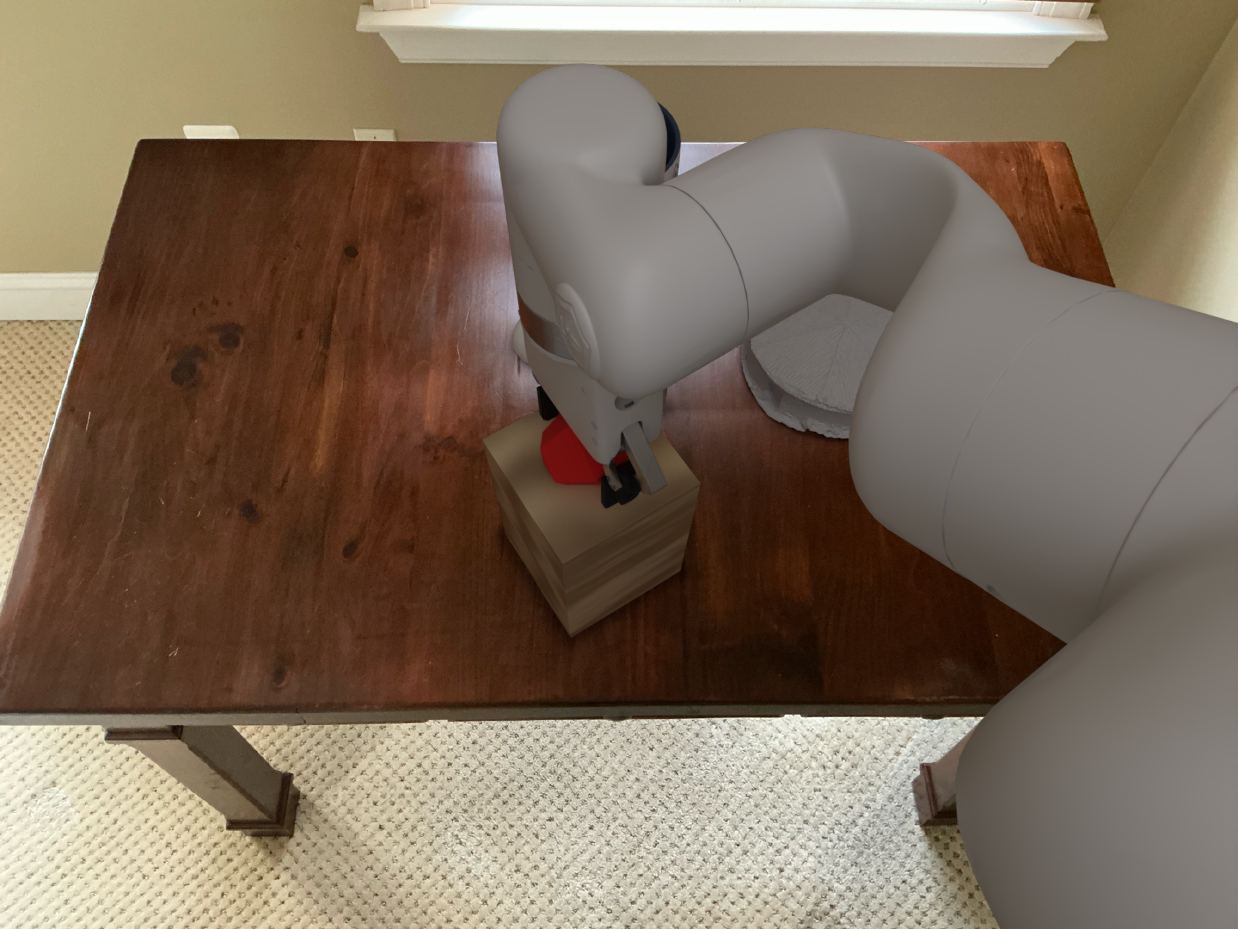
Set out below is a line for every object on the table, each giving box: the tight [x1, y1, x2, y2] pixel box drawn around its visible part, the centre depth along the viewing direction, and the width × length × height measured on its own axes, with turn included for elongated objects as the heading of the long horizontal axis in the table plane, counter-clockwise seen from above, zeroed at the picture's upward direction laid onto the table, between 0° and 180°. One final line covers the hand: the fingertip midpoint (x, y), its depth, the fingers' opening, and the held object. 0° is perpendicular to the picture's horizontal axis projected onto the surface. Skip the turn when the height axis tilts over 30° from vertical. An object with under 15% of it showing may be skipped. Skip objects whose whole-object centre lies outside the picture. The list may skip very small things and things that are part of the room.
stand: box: [481, 409, 702, 639], centre depth 70 cm, size 12×12×18 cm
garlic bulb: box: [511, 318, 529, 365], centre depth 86 cm, size 6×6×8 cm
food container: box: [740, 294, 894, 440], centre depth 86 cm, size 20×20×7 cm
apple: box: [540, 413, 629, 485], centre depth 59 cm, size 7×7×8 cm
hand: (590, 451), depth 61 cm, fingers open, 8 cm apart
